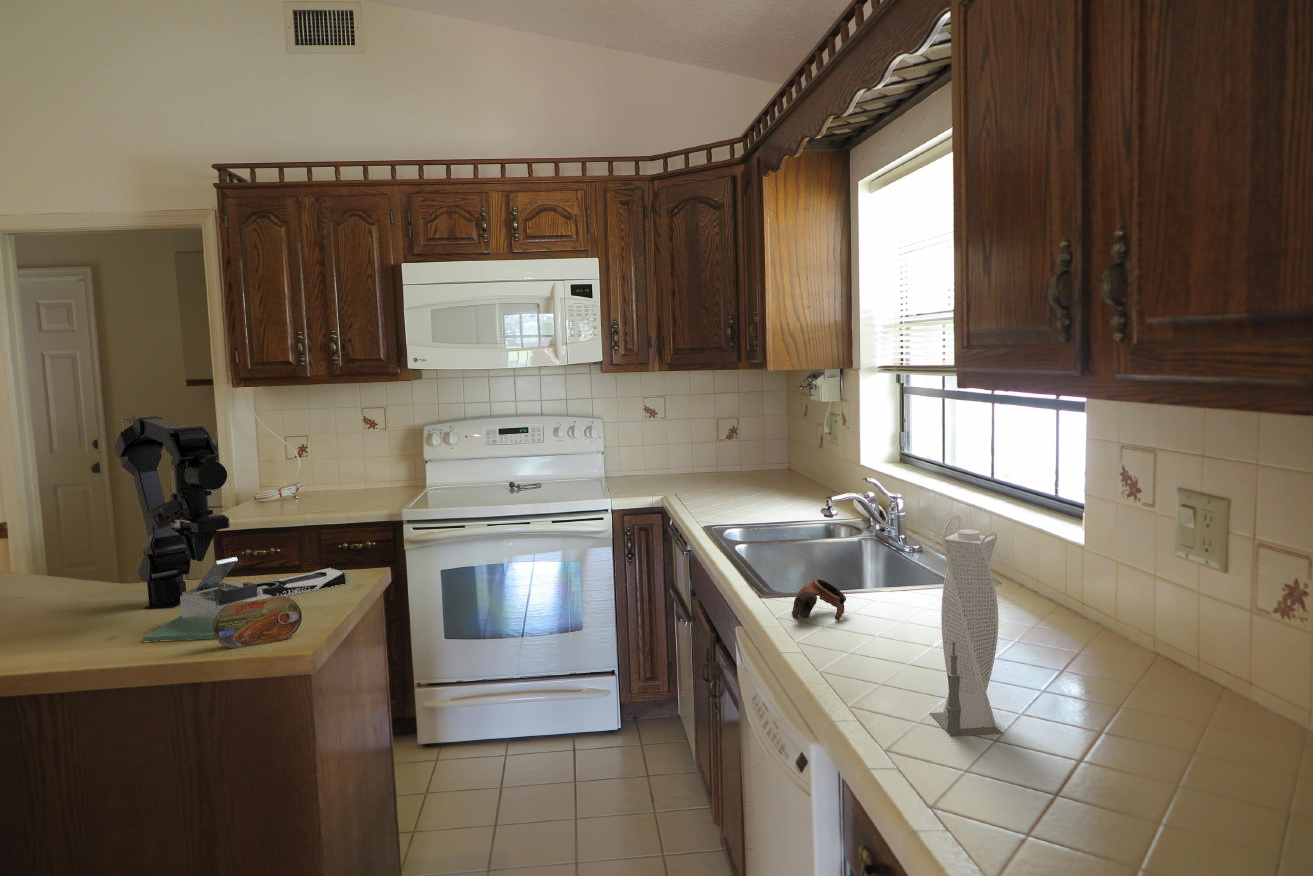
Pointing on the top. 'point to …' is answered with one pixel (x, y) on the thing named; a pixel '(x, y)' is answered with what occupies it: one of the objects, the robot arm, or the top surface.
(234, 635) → the tin
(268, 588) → the graphics card
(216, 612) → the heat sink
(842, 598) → the brown curved loop
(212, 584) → the grey rectangular slab
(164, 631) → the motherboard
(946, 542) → the skyscraper
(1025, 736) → the top surface
